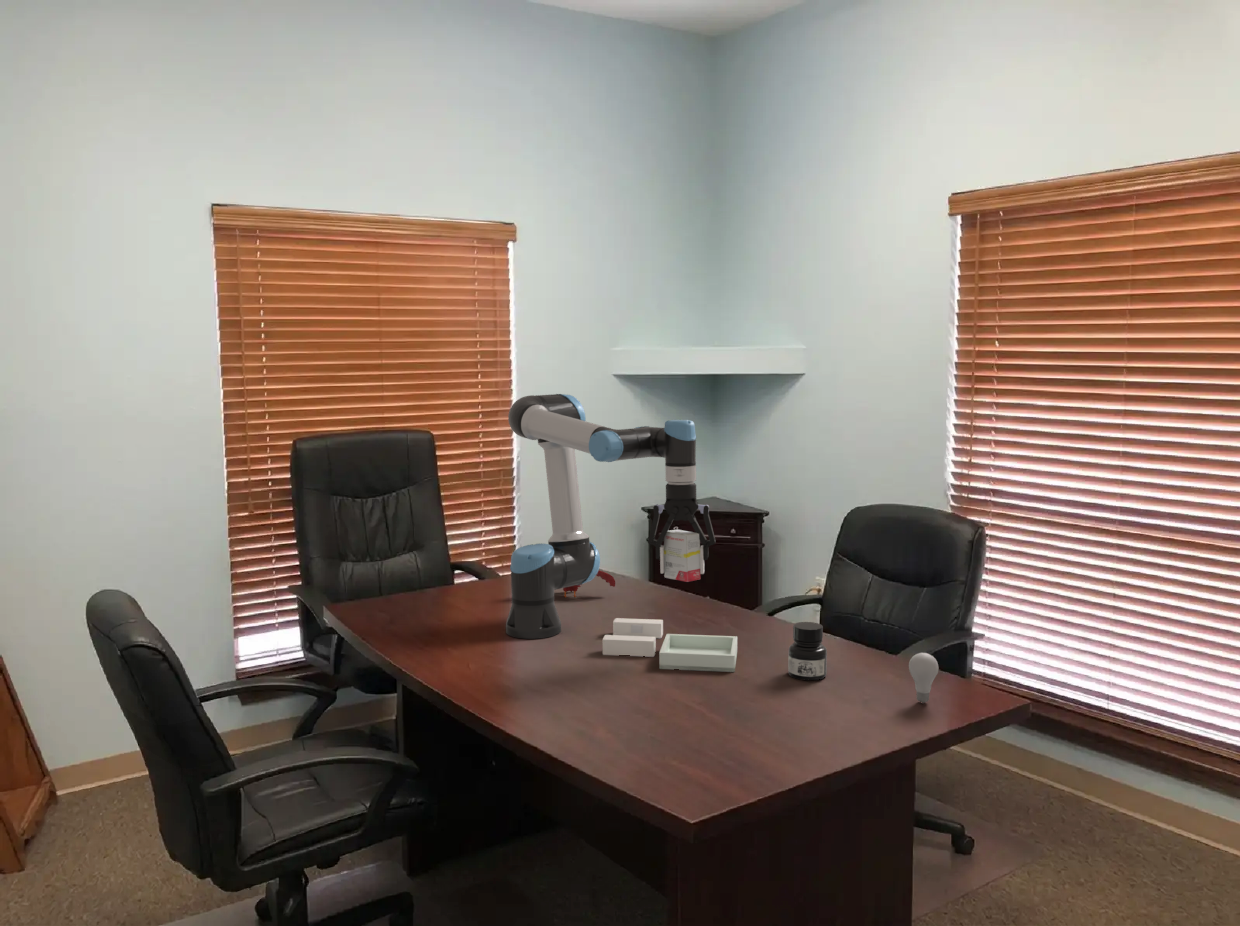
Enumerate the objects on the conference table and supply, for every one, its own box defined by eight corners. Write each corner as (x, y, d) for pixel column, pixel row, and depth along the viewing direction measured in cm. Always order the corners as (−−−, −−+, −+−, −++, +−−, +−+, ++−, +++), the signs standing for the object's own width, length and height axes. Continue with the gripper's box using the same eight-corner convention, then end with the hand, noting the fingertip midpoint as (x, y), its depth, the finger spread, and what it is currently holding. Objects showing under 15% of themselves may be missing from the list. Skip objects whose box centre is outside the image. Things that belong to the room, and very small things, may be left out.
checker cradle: (602, 654, 244) (602, 639, 244) (615, 632, 264) (615, 618, 264) (653, 656, 242) (653, 641, 242) (663, 634, 262) (662, 619, 261)
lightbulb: (933, 709, 205) (934, 659, 204) (904, 704, 208) (905, 654, 207) (940, 701, 210) (942, 651, 209) (912, 696, 213) (913, 647, 212)
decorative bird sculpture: (526, 609, 305) (522, 582, 294) (527, 584, 311) (524, 557, 300) (615, 608, 306) (615, 581, 294) (615, 583, 312) (615, 556, 300)
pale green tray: (659, 668, 233) (659, 652, 233) (666, 648, 249) (666, 633, 248) (734, 672, 230) (734, 655, 230) (737, 651, 246) (737, 636, 245)
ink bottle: (782, 678, 225) (783, 628, 224) (790, 667, 233) (791, 618, 232) (824, 683, 222) (825, 632, 220) (831, 672, 230) (832, 622, 228)
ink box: (701, 579, 239) (701, 532, 238) (687, 582, 236) (686, 534, 234) (678, 574, 245) (677, 528, 244) (663, 577, 242) (662, 530, 241)
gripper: (634, 484, 236) (636, 575, 238) (724, 484, 233) (725, 576, 235) (639, 481, 244) (640, 568, 246) (726, 480, 240) (727, 569, 242)
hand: (682, 572), depth 240 cm, fingers closed on ink box, 9 cm apart
